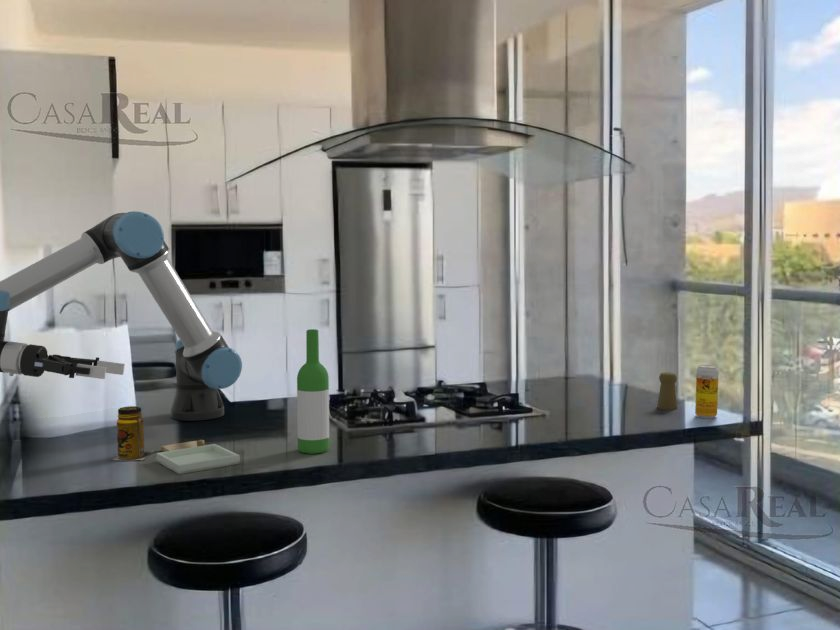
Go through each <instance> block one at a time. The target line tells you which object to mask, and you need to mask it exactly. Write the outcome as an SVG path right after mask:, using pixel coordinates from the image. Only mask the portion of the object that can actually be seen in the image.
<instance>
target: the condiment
mask: <svg viewBox="0 0 840 630" xmlns="http://www.w3.org/2000/svg"><path fill="white" fill-rule="evenodd" d="M117 413H118V414H117V417H118V418H117V420H116V436H117V441H116V442H117V444H116V445H117V456H116V457H115V458H113V459H112V461H123V462H124V461H125V462H126V461H127V462H128V461H143V460H145V459H146V458H147V457H148V456H149V455H151V454H152V453H153V452H154V450H149V451H148V450H147V451H146V450H145V433H144V432H145V430H144V428H145V426H144V419H143V417H142V416H143V415H142V407H140V406H133V405H132V406H131V405H130V406H123V407H120V408H119V409H118V410H117Z"/></svg>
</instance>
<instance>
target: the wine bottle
mask: <svg viewBox="0 0 840 630" xmlns="http://www.w3.org/2000/svg"><path fill="white" fill-rule="evenodd" d="M305 332H306V341H305V342H306V346H305V347H306V350H305V351H306V361H305V363H303V365H302V366H300V368H299V370H298V372H297V376H296V402H297V403H296V406H297V407H296V412H297V413H296V415H297V416H296V417H297V420H296V421H297V425H296V426H297V427H296V428H297V448H298V451H299V452H301V453H302V454H306V455H307V454H308V455H309V454H310V455H312V454H315V455H316V454H322V453H325V452H327V451H328V450H329V447H330V388H329V385H330V384H329V383H330V380H329V373H328V370H327V369H326V367H325V366H324V365H323V364H322V363H321V361H320V352H319V348H320V347H319V346H320V345H319V341H320V340H319V338H320V337H319V330H318V329H315V328H313V329H307V330H306V331H305Z"/></svg>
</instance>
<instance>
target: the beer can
mask: <svg viewBox="0 0 840 630" xmlns="http://www.w3.org/2000/svg"><path fill="white" fill-rule="evenodd" d="M719 372H720V371H719V368H718V366H717V365H712V364H700V365H698V366H697V368H696V376H695V378H696V379H695V380H696V381H695V383H696V384H695V410H694V413H695V415H696V416H698V417H697V418H700V417H701V419H714V417H715V418H716V416H718V400H719V399H718V397H719V395H718V394H719Z"/></svg>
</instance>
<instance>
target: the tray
mask: <svg viewBox="0 0 840 630" xmlns="http://www.w3.org/2000/svg"><path fill="white" fill-rule="evenodd" d="M204 445H205V446H198V447H192V448H186V449H179V450H173V451H167V452H164V451H162V452H161V451H160V452H156V462H157V463H158V464H161V465H162V466H163V467H166V468H167V469H169V470H171V471H173V472H174V473H176V474H178V475H184V474H190V473H196V472H200V471H206V470H207V471H208V470H211V469H218V468H224V467H228V466H234V465H240V464H241V460H240V459H241V457H240V456H241V455H240V454H239V453H235V452H234V451H231V450H229V449H227V448H225V447H223V446H221V445H218V444H217V443H212V444H204Z"/></svg>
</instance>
